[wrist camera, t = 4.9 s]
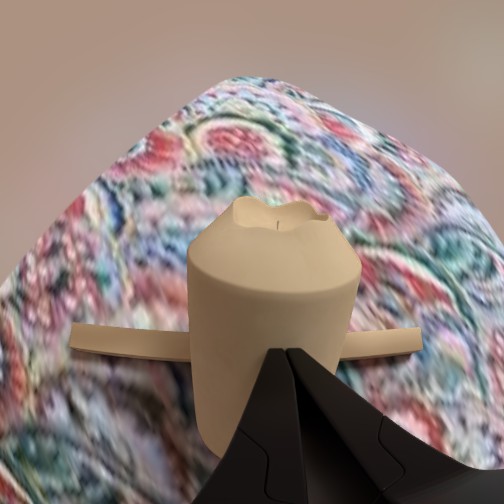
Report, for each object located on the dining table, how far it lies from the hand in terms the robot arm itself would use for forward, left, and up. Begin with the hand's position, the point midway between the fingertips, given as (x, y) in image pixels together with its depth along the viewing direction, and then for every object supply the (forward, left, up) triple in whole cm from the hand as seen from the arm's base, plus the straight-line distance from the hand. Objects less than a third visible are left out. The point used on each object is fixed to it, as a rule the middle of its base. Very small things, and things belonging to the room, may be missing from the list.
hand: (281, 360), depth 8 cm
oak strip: (+2, 0, -8) cm, 9 cm away
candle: (-2, 0, -7) cm, 7 cm away
